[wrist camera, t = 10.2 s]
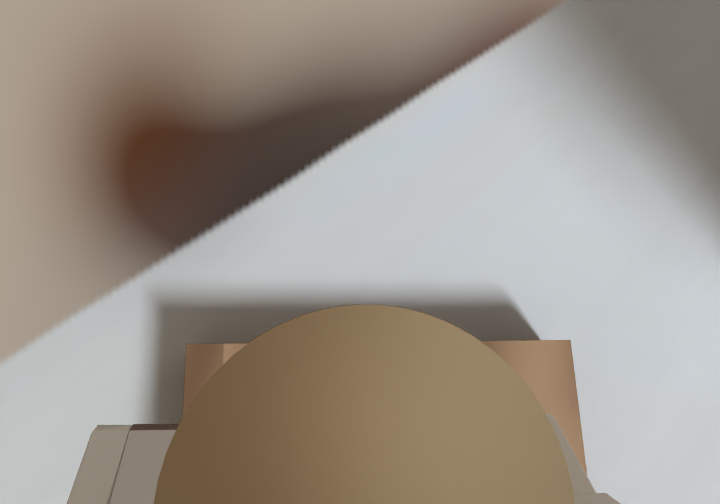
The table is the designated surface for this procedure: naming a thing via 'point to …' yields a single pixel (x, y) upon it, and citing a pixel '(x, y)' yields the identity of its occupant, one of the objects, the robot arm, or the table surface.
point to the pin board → (527, 358)
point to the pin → (365, 420)
